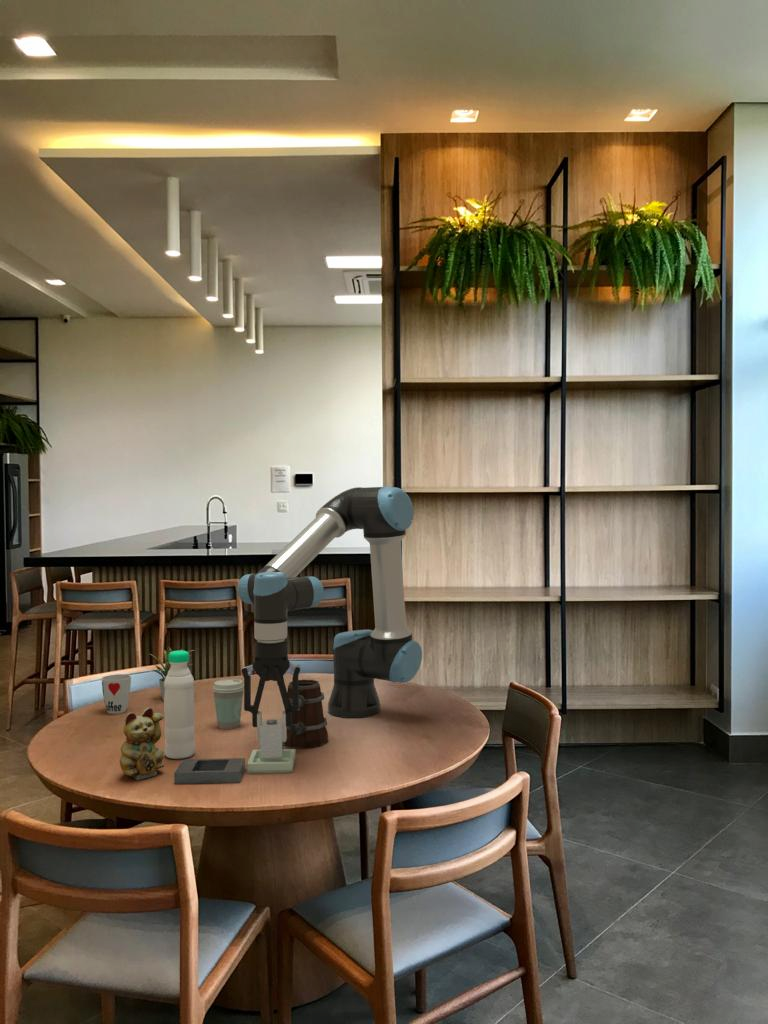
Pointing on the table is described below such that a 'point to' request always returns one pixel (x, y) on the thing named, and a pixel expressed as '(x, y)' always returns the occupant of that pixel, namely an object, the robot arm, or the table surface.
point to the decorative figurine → (141, 745)
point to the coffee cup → (228, 702)
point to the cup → (116, 692)
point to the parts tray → (271, 763)
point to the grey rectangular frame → (209, 771)
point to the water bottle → (179, 708)
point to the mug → (307, 717)
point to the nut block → (271, 740)
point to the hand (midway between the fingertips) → (272, 740)
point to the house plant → (166, 668)
